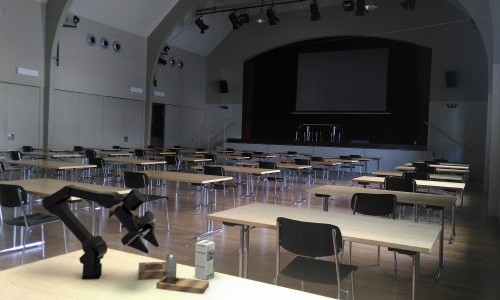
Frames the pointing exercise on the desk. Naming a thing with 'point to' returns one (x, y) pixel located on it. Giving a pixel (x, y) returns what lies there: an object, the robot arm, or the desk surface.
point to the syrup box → (204, 259)
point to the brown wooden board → (184, 285)
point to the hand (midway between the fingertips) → (153, 249)
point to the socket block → (152, 270)
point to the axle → (171, 268)
